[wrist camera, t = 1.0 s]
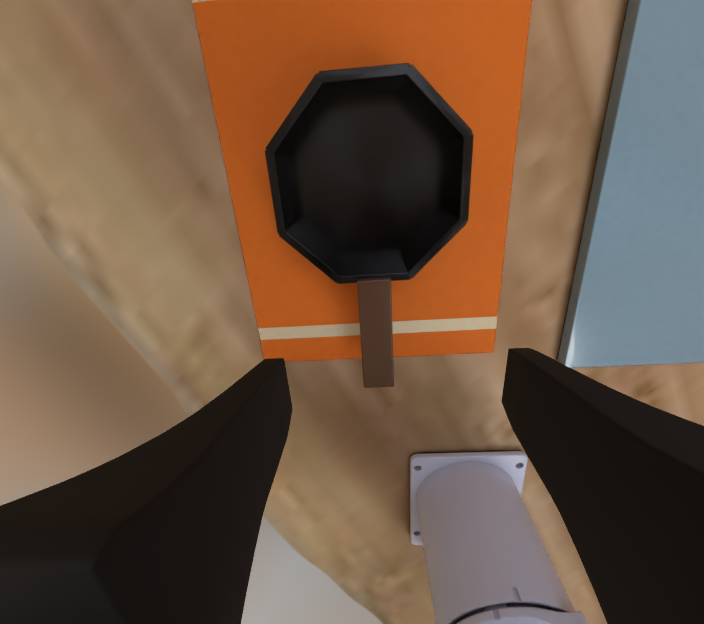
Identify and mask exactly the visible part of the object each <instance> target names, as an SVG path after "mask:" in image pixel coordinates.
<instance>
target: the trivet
mask: <svg viewBox="0 0 704 624" xmlns="http://www.w3.org/2000/svg"><path fill="white" fill-rule="evenodd" d="M557 361H558V362H560V363H562V364H564V365H566V366H567V367H569V368H578V367H602V366H626V365H651V364H675V363H699V362H704V0H629V1H628V6H627V11H626V16H625V21H624V26H623V31H622V36H621V41H620V46H619V52H618V57H617V62H616V67H615V72H614V77H613V82H612V87H611V92H610V97H609V102H608V107H607V112H606V117H605V122H604V127H603V132H602V138H601V143H600V148H599V153H598V158H597V163H596V168H595V173H594V178H593V183H592V188H591V193H590V198H589V203H588V208H587V213H586V218H585V224H584V229H583V234H582V239H581V244H580V249H579V254H578V259H577V264H576V269H575V274H574V279H573V284H572V289H571V294H570V299H569V304H568V310H567V315H566V320H565V325H564V330H563V335H562V340H561V345H560V350H559V355H558V360H557Z"/></svg>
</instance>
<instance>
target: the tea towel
mask: <svg viewBox="0 0 704 624" xmlns="http://www.w3.org/2000/svg"><path fill="white" fill-rule="evenodd" d="M192 2H193V7H194V12H195V17H196V22H197V27H198V32H199V37H200V42H201V47H202V52H203V57H204V62H205V67H206V72H207V77H208V82H209V87H210V92H211V96H212V101H213V106H214V111H215V116H216V121H217V126H218V131H219V136H220V141H221V146H222V151H223V156H224V161H225V166H226V171H227V176H228V181H229V186H230V191H231V196H232V201H233V206H234V211H235V216H236V221H237V226H238V231H239V236H240V240H241V245H242V250H243V255H244V260H245V265H246V270H247V275H248V280H249V285H250V290H251V295H252V300H253V305H254V310H255V315H256V320H257V325H258V330H259V335H260V340H261V345H262V350H263V355H264V360H265V359H271V358H284V362H287V361H309V360H332V359H355V358H362V352H361V338H360V323H359V308H358V294H357V283H346V284H338V282H337V283H335V282H334V281H333V280H332V279H330V278H329V277H328V276H327V275H326V274H324V273H323V272H322V271H321V270H320V269H318V268H317V267H316V266H315V265H313V264H312V263H311V262H310V261H309V260H307V259H306V258H305V257H304V256H303V255H301V254H300V253H299V252H298V251H296V250H295V249H294V248H293V247H292V246H290V245H289V244H288V243H287V242H286V241H284V240H283V239H282V238H281V237H279V234H278V233H277V227H276V221H275V214H274V208H273V201H272V195H271V189H270V182H269V176H268V169H267V163H266V157H265V150H266V149H265V148H266V146H267V145H268V143H269V142H270V140H271V139H272V137H273V136H274V134H275V133H276V131H277V130H278V129H279V127H280V126H281V124H282V123H283V121H284V120H285V118H286V117H287V115H288V114H289V112H290V111H291V109H292V108H293V106H294V105H295V104H296V102H297V101H298V99H299V98H300V96H301V95H302V93H303V92H304V90H305V89H306V87H307V86H308V84H309V83H310V82H311V80H312V79H313V77H314V76H315V74H316V73H318V74H319V71H327V70H337V69H348V68H359V67H369V66H380V65H390V64H401V63H409V64H410V65H411V64H413V66H414V67H415V68H416V69H417V70H418V71H419V72H420V73H421V74H422V75H423V77H424V78H425V79H426V80H427V81H428V82H429V83H430V84H431V85H432V87H433V88H434V89H435V90H436V91H437V92H438V93H439V94H440V95H441V96H442V98H443V99H444V100H445V101H446V102H447V103H448V104H449V105H450V106H451V107H452V109H453V110H454V111H455V112H456V113H457V114H458V115H459V116H460V117H461V119H462V120H463V121H464V122H465V123H466V124H467V125H468V126H469V127H470V128H471V130H472V131H473V132H472V133H473V134H474V139H473V154H472V170H471V185H470V201H469V217H468V221H467V224H466V225H465V226H464V227H463V228H462V229H461V230H460V231H459V232H458V233H457V234H456V235H455V236H454V237H453V238H452V239H451V240H450V241H449V242H448V243H447V244H446V245H445V246H444V247H443V248H442V249H441V250H440V251H439V252H438V253H437V254H436V255H435V256H434V257H433V258H432V259H431V260H430V261H429V262H428V263H427V264H426V265H425V266H424V267H423V268H422V269H421V270H420V271H419V272H418V273H417V274H416V275H415V276H414V277H413V278H412V279H411V278H410V280H399V281H391V289H392V327H393V357H400V356H422V355H445V354H468V353H490V352H493V350H494V341H495V332H496V324H497V314H498V305H499V295H500V286H501V277H502V268H503V259H504V250H505V240H506V231H507V222H508V213H509V204H510V195H511V185H512V176H513V167H514V158H515V149H516V140H517V130H518V121H519V112H520V103H521V94H522V85H523V75H524V66H525V57H526V48H527V39H528V29H529V20H530V11H531V2H532V0H192ZM472 133H471V134H472Z"/></svg>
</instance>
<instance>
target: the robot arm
mask: <svg viewBox="0 0 704 624" xmlns="http://www.w3.org/2000/svg"><path fill="white" fill-rule="evenodd" d="M502 404H503V406H504V409H505V411H506V414H507V417H508V419H509V421H510V424H511V426H512V429H513V431H514V432H515V434H516V436H517V438H518V440H519V441H520V443H521V445H522V447H523V448H524V450H525V452H526V454H527V455H528V457H529V459H530V461H531V462H532V464H533V466H534V467H535V469H536V471H537V473H538V474H539V476H540V478H541V480H542V481H543V483H544V485H545V486H546V488H547V490H548V492H549V493H550V495H551V497H552V499H553V501H554V503H555V504H556V506H557V508H558V510H559V512H560V514H561V516H562V518H563V521H564V523H565V525H566V527H567V529H568V532H569V534H570V536H571V538H572V540H573V543H574V545H575V547H576V549H577V551H578V554H579V556H580V558H581V561H582V563H583V565H584V568H585V570H586V572H587V575H588V577H589V579H590V582H591V584H592V586H593V589H594V591H595V593H596V596H597V598H598V601H599V603H600V606H601V608H602V611H603V613H604V616H605V618H606V621H607V623H608V624H704V426H702V425H699V424H697V423H694V422H691V421H688V420H686V419H683V418H680V417H678V416H675V415H673V414H670V413H668V412H665V411H662V410H660V409H657V408H655V407H652V406H650V405H647V404H645V403H643V402H640V401H638V400H636V399H633V398H631V397H629V396H627V395H625V394H623V393H620V392H618V391H616V390H614V389H612V388H609V387H607V386H605V385H603V384H601V383H599V382H597V381H595V380H593V379H591V378H589V377H587V376H585V375H583V374H581V373H579V372H577V371H575V370H573V369H571V368H569V367H567V366H566V365H564V364H562V363H560V362H558V361H556V360H554V359H552V358H550V357H548V356H546V355H544V354H542V353H540V352H538V351H535V350H533V349H530V348H513V349H509V351H508V358H507V366H506V373H505V381H504V388H503V396H502ZM291 414H292V403H291V397H290V391H289V385H288V379H287V373H286V367H285V362H284V358H271V359H265V360H263V361H262V362H260V363H259V364H258V365H257V366H255V367H254V368H253V369H252V370H250V371H249V372H248V373H247V374H245V375H244V376H243V377H242V378H241V379H239V380H238V381H237V382H236V383H234V384H233V385H232V386H231V387H229V388H228V389H227V390H226V391H224V392H223V393H222V394H220V395H219V396H218V397H216V398H215V399H214V400H212V401H211V402H209V403H208V404H207V405H205V406H204V407H203V408H201V409H200V410H199V411H197V412H196V413H194V414H193V415H191V416H190V417H188V418H187V419H185V420H184V421H182V422H180V423H179V424H177V425H176V426H174V427H172V428H171V429H169V430H167V431H166V432H164V433H162V434H161V435H159V436H157V437H155V438H153V439H151V440H150V441H148V442H146V443H144V444H142V445H140V446H138V447H137V448H135V449H133V450H131V451H129V452H127V453H125V454H123V455H121V456H119V457H118V458H115V459H113V460H111V461H109V462H107V463H104V464H102V465H101V466H98V467H96V468H94V469H91V470H89V471H87V472H85V473H82V474H80V475H78V476H76V477H74V478H71V479H68V480H66V481H64V482H61V483H59V484H56V485H54V486H51V487H49V488H46V489H43V490H41V491H38V492H35V493H33V494H30V495H28V496H25V497H23V498H20V499H17V500H15V501H12V502H10V503H7V504H4V505H2V506H0V624H241V619H242V613H243V607H244V602H245V596H246V592H247V587H248V582H249V576H250V571H251V566H252V562H253V557H254V551H255V547H256V543H257V538H258V533H259V529H260V525H261V520H262V516H263V512H264V509H265V505H266V502H267V498H268V495H269V492H270V489H271V486H272V483H273V480H274V477H275V474H276V471H277V468H278V465H279V461H280V458H281V455H282V452H283V449H284V446H285V443H286V439H287V436H288V431H289V426H290V420H291ZM526 454H525V453H524V452H522V451H502V452H465V453H429V454H414V455H412V456H411V458H410V538H411V543H412V544H414V545H423V546H424V552H425V559H426V565H427V571H428V578H429V584H430V590H431V597H432V603H433V610H434V616H435V622H436V624H587V622H586V620H585V618H584V616H583V614H582V612H581V611H575V610H574V607H573V605H572V603H571V601H570V599H569V597H568V595H567V593H566V591H565V589H564V586H563V584H562V582H561V580H560V578H559V576H558V574H557V572H556V570H555V568H554V565H553V563H552V561H551V559H550V557H549V555H548V553H547V551H546V549H545V546H544V544H543V542H542V540H541V538H540V536H539V534H538V532H537V530H536V528H535V525H534V523H533V521H532V519H531V517H530V515H529V513H528V511H527V509H526V506H525V504H524V502H523V500H522V498H521V493H522V488H523V482H524V477H525V471H526V465H527V460H528V459H527V456H526ZM518 463H519V464H518Z"/></svg>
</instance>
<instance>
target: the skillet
mask: <svg viewBox="0 0 704 624" xmlns="http://www.w3.org/2000/svg"><path fill="white" fill-rule="evenodd" d="M472 132H473V131H472V130H471V128H470V127H469V126H468V125H467V124H466V123H465V122H464V121H463V120H462V119H461V117H460V116H459V115H458V114H457V113H456V112H455V111H454V110H453V109H452V107H451V106H450V105H449V104H448V103H447V102H446V101H445V100H444V99H443V98H442V96H441V95H440V94H439V93H438V92H437V91H436V90H435V89H434V88H433V87H432V85H431V84H430V83H429V82H428V81H427V80H426V79H425V78H424V77H423V75H422V74H421V73H420V72H419V71H418V70H417V69H416V68H415V67H414V66H413V64H411V65H410V64H409V63H401V64H390V65H380V66H369V67H359V68H348V69H337V70H327V71H319V74H318V73H316V74H315V76H314V77H313V79H312V80H311V82H310V83H309V84H308V86H307V87H306V89H305V90H304V92H303V93H302V95H301V96H300V98H299V99H298V101H297V102H296V104H295V105H294V106H293V108H292V109H291V111H290V112H289V114H288V115H287V117H286V118H285V120H284V121H283V123H282V124H281V126H280V127H279V129H278V130H277V131H276V133H275V134H274V136H273V137H272V139H271V140H270V142H269V143H268V145H267V146H266V148H265V149H266V150H265V157H266V163H267V169H268V176H269V182H270V189H271V195H272V201H273V208H274V214H275V221H276V227H277V233H278V234H279V237H281V238H282V239H283V240H284V241H286V242H287V243H288V244H289V245H290V246H292V247H293V248H294V249H295V250H296V251H298V252H299V253H300V254H301V255H303V256H304V257H305V258H306V259H307V260H309V261H310V262H311V263H312V264H313V265H315V266H316V267H317V268H318V269H320V270H321V271H322V272H323V273H324V274H326V275H327V276H328V277H329V278H330V279H332V280H333V281H334V282H335V283H337V282H338V284H346V283H357V294H358V308H359V323H360V338H361V352H362V367H363V381H364V387H365V388H370V387H393V386H394V366H393V327H392V289H391V281H399V280H410V278H411V279H412V278H413V277H414V276H415V275H416V274H417V273H418V272H419V271H420V270H421V269H422V268H423V267H424V266H425V265H426V264H427V263H428V262H429V261H430V260H431V259H432V258H433V257H434V256H435V255H436V254H437V253H438V252H439V251H440V250H441V249H442V248H443V247H444V246H445V245H446V244H447V243H448V242H449V241H450V240H451V239H452V238H453V237H454V236H455V235H456V234H457V233H458V232H459V231H460V230H461V229H462V228H463V227H464V226H465V225H466V224H467V221H468V217H469V201H470V185H471V170H472V154H473V139H474V134H473V133H472ZM471 133H472V134H471Z"/></svg>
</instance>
